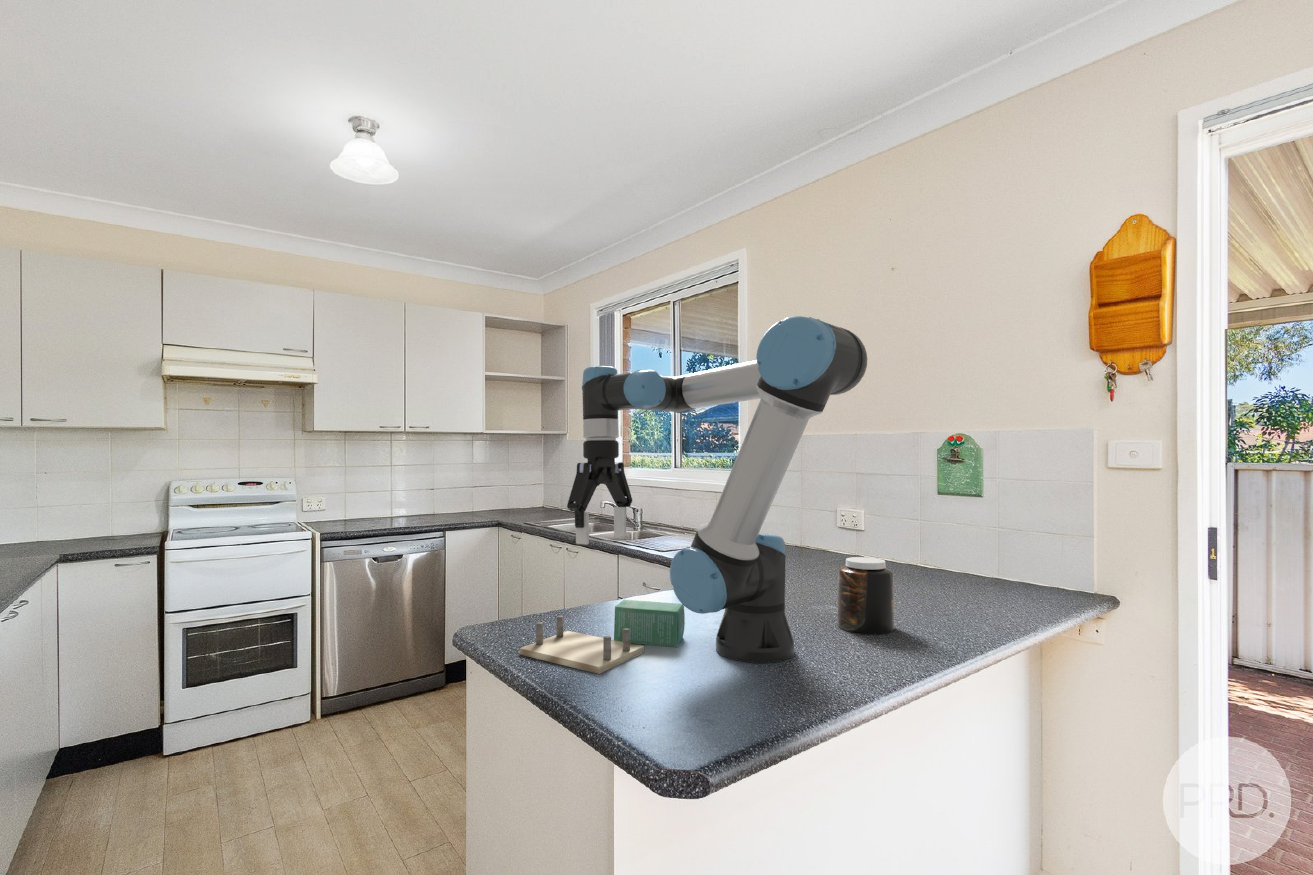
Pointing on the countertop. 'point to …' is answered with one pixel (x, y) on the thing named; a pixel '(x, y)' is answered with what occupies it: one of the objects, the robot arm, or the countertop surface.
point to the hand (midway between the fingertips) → (602, 540)
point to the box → (650, 622)
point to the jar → (866, 596)
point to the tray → (581, 649)
